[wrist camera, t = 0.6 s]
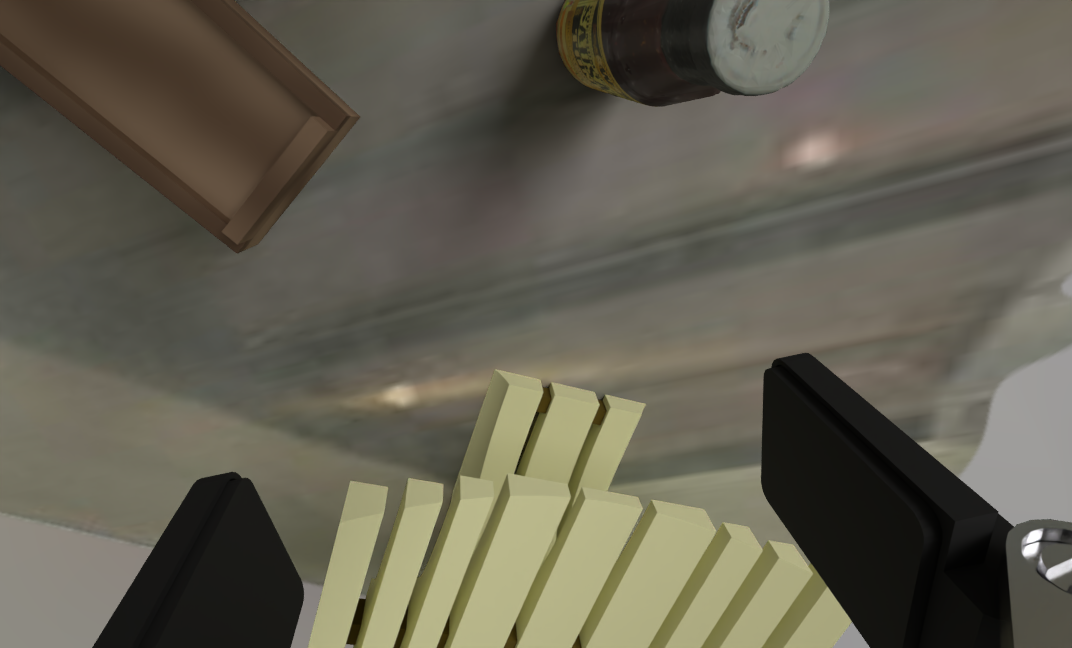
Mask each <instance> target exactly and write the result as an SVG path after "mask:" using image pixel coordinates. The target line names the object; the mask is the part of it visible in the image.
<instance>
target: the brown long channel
mask: <svg viewBox="0 0 1072 648" xmlns="http://www.w3.org/2000/svg"><path fill="white" fill-rule="evenodd" d="M0 66H2V67H3V68H4V69H5V70H7V71H8V72H9V73H11V74H12V75H13V76H14V77H16V78H17V79H18V80H19V81H21V82H22V83H23V84H24V85H26V86H27V87H28V88H29V89H31V90H32V91H33V92H34V93H36V94H37V95H38V96H39V97H41V98H42V99H43V100H44V101H46V102H47V103H48V104H49V105H51V106H52V107H53V108H55V109H56V110H57V111H58V112H60V113H61V114H62V115H63V116H65V117H66V118H67V119H68V120H70V121H71V122H72V123H73V124H75V125H76V126H77V127H78V128H80V129H81V130H82V131H83V132H85V133H86V134H87V135H88V136H90V137H91V138H92V139H93V140H95V141H96V142H97V143H99V144H100V145H101V146H102V147H104V148H105V149H106V150H107V151H109V152H110V153H111V154H112V155H114V156H115V157H116V158H117V159H119V160H120V161H121V162H122V163H124V164H125V165H126V166H127V167H129V168H130V169H131V170H132V171H134V172H135V173H136V174H137V175H139V176H140V177H141V178H143V179H144V180H145V181H146V182H148V183H149V184H150V185H151V186H153V187H154V188H155V189H156V190H158V191H159V192H160V193H161V194H163V195H164V196H165V197H166V198H168V199H169V200H170V201H171V202H173V203H174V204H175V205H176V206H178V207H179V208H180V209H181V210H183V211H184V212H185V213H187V214H188V215H189V216H190V217H192V218H193V219H194V220H195V221H197V222H198V223H199V224H200V225H202V226H203V227H204V228H205V229H207V230H208V231H209V232H210V233H212V234H213V235H214V236H215V237H217V238H218V239H219V240H220V241H222V242H223V243H224V244H226V245H227V246H228V247H229V248H231V249H232V250H233V251H234V252H236V253H239V252H242V251H244V250H246V249H248V248H251V247H253V246H255V245H257V244H258V243H259V242H260V241H261V240H262V239H263V237H264V236H265V235H266V234H267V232H268V231H269V230H270V229H271V227H272V226H273V225H274V224H275V222H276V221H277V220H278V219H279V217H280V216H281V215H282V214H283V212H284V211H285V210H286V209H287V207H288V206H289V205H290V204H291V203H292V201H293V200H294V199H295V198H296V196H297V195H298V194H299V193H300V191H301V190H302V189H303V188H304V186H305V185H306V184H307V183H308V181H309V180H310V179H311V178H312V176H313V175H314V174H315V173H316V171H317V170H318V169H319V168H320V167H321V165H322V164H323V163H324V162H325V160H326V159H327V158H328V157H329V155H330V154H331V153H332V152H333V150H334V149H335V148H336V147H337V145H338V144H339V143H340V142H341V140H342V139H343V138H344V137H345V136H346V134H347V133H348V132H349V131H350V129H351V128H352V127H353V126H354V124H355V123H356V122H357V121H358V119H359V118H360V116H359V115H358V114H357V113H356V112H355V111H353V110H352V109H351V108H350V107H349V106H348V105H347V104H346V103H345V102H344V101H343V100H342V99H340V98H339V97H338V96H337V95H336V94H335V93H334V92H333V91H332V90H331V89H330V88H329V87H327V86H326V85H325V84H324V83H323V82H322V81H321V80H320V79H319V78H318V77H317V76H316V75H314V74H313V73H312V72H311V71H310V70H309V69H308V68H307V67H306V66H305V65H304V64H303V63H301V62H300V61H299V60H298V59H297V58H296V57H295V56H294V55H293V54H292V53H291V52H290V51H288V50H287V49H286V48H285V47H284V46H283V45H282V44H281V43H280V42H279V41H278V40H277V39H275V38H274V37H273V36H272V35H271V34H270V33H269V32H268V31H267V30H266V29H265V28H263V27H262V26H261V25H260V24H259V23H258V22H257V21H256V20H255V19H254V18H253V17H252V16H250V15H249V14H248V13H247V12H246V11H245V10H244V9H243V8H242V7H241V6H240V5H239V4H237V3H236V2H235V1H234V0H0Z"/></svg>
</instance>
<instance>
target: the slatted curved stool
mask: <svg viewBox="0 0 1072 648" xmlns="http://www.w3.org/2000/svg"><path fill="white" fill-rule="evenodd" d="M645 405H646V404H644V403H640V402H635V401H631V400H627V399H622V398H618V397H613V396H609V395H605V396H604V398H603V400H598V399H597V397H596V394H595V392H592V391H587V390H583V389H579V388H574V387H570V386H566V385H561V384H557V383H553V382H551V384H550V387H549V388H544V387H542V384H541V381H540V379H535V378H531V377H527V376H522V375H518V374H513V373H509V372H505V371H500V370H496V369H495V370H494V373H493V376H492V379H491V382H490V385H489V388H488V390H487V393H486V396H485V399H484V402H483V405H482V408H481V411H480V414H479V417H478V419H477V422H476V425H475V428H474V431H473V434H472V437H471V440H470V443H469V446H468V448H467V451H466V454H465V457H464V460H463V463H462V466H461V469H460V472H459V475H458V477H457V480H456V483H455V486H454V489H453V492H452V498H451V503H450V506H449V509H448V511H447V514H446V517H445V520H444V522H443V525H442V528H441V530H440V533H439V536H438V538H437V541H436V544H435V546H434V549H433V551H432V554H431V556H430V558H429V561H428V563H427V565H426V567H425V569H424V571H423V573H422V575H421V576H420V577H417V576H418V573H419V570H420V567H421V565H422V562H423V559H424V556H425V553H426V550H427V547H428V544H429V541H430V538H431V535H432V532H433V529H434V526H435V523H436V520H437V517H438V514H439V512H440V509H441V506H442V503H443V484H441V483H435V482H429V481H423V480H418V479H412V478H408V480H407V484H406V487H405V490H404V493H403V497H402V500H401V503H400V506H399V510H398V513H397V516H396V519H395V522H394V526H393V529H392V532H391V535H390V538H389V541H388V544H387V547H386V551H385V554H384V557H383V560H382V562H381V565H380V568H379V571H378V574H377V576H376V579H373V578H372V579H371V582H370V586H369V589H368V592H367V596H366V599H360V598H359V597H360V594H361V590H362V587H363V583H364V580H365V577H366V573H367V570H368V566H369V563H370V559H371V556H372V553H373V549H374V546H375V542H376V539H377V535H378V532H379V529H380V525H381V522H382V518H383V515H384V511H385V505H386V498H387V492H388V487H385V486H379V485H373V484H367V483H361V482H355V481H350V484H349V488H348V492H347V496H346V500H345V504H344V508H343V512H342V516H341V520H340V524H339V527H338V531H337V535H336V539H335V543H334V547H333V551H332V555H331V559H330V563H329V567H328V570H327V574H326V578H325V582H324V586H323V590H322V594H321V598H320V602H319V605H318V609H317V613H316V618H315V621H314V625H313V629H312V633H311V638H310V641H309V645H308V648H345V645H346V644H351V645H354V647H353V648H832V647H833V646H834V645H835V643H836V642H837V641H838V640H839V638H840V637H841V636H842V634H843V633H844V632H845V630H846V629H847V628H848V626H849V625H850V624H851V623H852V621H851V620H850V618H849V617H848V615H847V614H846V612H845V611H844V610H843V608H842V607H841V605H840V604H839V602H838V601H837V600H836V598H835V597H834V595H833V594H832V592H831V591H830V590H829V588H828V587H827V585H826V584H825V582H824V581H823V580H822V578H821V577H820V575H819V574H818V572H817V571H816V570H815V568H814V567H813V565H812V564H811V563H810V565H809V566H808V565H807V564H806V563H805V561H804V560H803V558H802V557H801V555H800V554H799V552H798V551H797V550H796V548H795V547H794V545H792V544H786V543H780V542H774V541H769V540H768V542H767V543H766V545H765V546H764V548H763V549H762V548H761V546H760V545H759V543H758V541H757V540H756V538H755V537H754V535H753V533H752V532H751V530H750V529H749V527H746V526H741V525H735V524H729V523H724V522H723V523H722V525H721V526H720V528H719V530H718V531H717V533H716V530H715V528H714V526H713V525H712V523H711V521H710V519H709V517H708V515H707V514H706V512H705V510H704V509H700V508H695V507H689V506H684V505H678V504H673V503H668V502H662V501H657V500H651V502H650V504H649V505H648V507H647V509H646V511H645V513H644V515H643V517H642V518H641V520H640V522H639V524H638V526H637V527H636V529H635V531H634V533H633V535H632V536H631V538H630V540H629V541H628V543H627V545H626V547H625V548H624V550H623V551H622V549H623V547H624V545H625V543H626V541H627V539H628V537H629V535H630V533H631V531H632V529H633V527H634V525H635V523H636V521H637V520H638V518H639V516H640V514H641V512H642V510H643V508H642V505H641V503H640V501H639V498H638V497H635V496H630V495H624V494H619V493H613V492H608V488H609V486H610V483H611V481H612V479H613V476H614V474H615V472H616V470H617V467H618V465H619V463H620V460H621V458H622V456H623V454H624V452H625V449H626V447H627V445H628V443H629V441H630V439H631V436H632V434H633V432H634V430H635V428H636V426H637V424H638V422H639V419H640V417H641V415H642V412H643V410H644V407H645ZM536 412H539V415H538V418H537V420H536V423H535V425H534V428H533V430H532V433H531V435H530V438H529V440H528V443H527V446H526V448H525V451H524V453H523V456H522V458H521V461H520V463H519V466H518V469H517V471H516V474H514V472H515V469H516V466H517V463H518V460H519V457H520V454H521V451H522V449H523V446H524V443H525V440H526V437H527V435H528V432H529V429H530V426H531V424H532V421H533V418H534V416H535V413H536ZM591 424H592V425H591ZM590 426H591V428H590ZM589 429H590V430H589ZM588 431H589V432H588ZM587 434H588V435H587ZM586 436H587V437H586ZM585 438H586V439H585ZM583 443H584V444H583ZM715 533H716V535H715ZM714 535H715V536H714ZM713 536H714V538H713ZM712 538H713V539H712ZM711 540H712V541H711ZM710 542H711V543H710ZM709 543H710V544H709ZM708 545H709V546H708ZM706 548H707V549H706ZM621 551H622V553H621ZM620 553H621V555H620ZM703 553H704V554H703ZM619 555H620V556H619ZM618 557H619V558H618ZM617 558H618V559H617ZM616 560H617V561H616Z"/></svg>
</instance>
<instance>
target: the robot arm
mask: <svg viewBox="0 0 1072 648" xmlns="http://www.w3.org/2000/svg"><path fill="white" fill-rule="evenodd" d="M761 484H762V489H763V492H764V495H765V497H766V499H767V501H768V502H769V504H770V505H771V507H772V508H773V510H774V511H775V512H776V514H777V515H778V517H779V518H780V520H781V521H782V522H783V524H784V525H785V527H786V528H787V530H788V531H789V532H790V534H791V535H792V537H793V538H794V540H795V541H796V542H797V544H798V545H799V547H800V548H801V550H802V551H803V552H804V554H805V555H806V557H807V558H808V560H809V561H810V562H811V564H812V565H813V567H814V568H815V570H816V571H817V572H818V574H819V575H820V577H821V578H822V580H823V581H824V582H825V584H826V585H827V587H828V588H829V590H830V591H831V592H832V594H833V595H834V597H835V598H836V600H837V601H838V602H839V604H840V605H841V607H842V608H843V610H844V611H845V612H846V614H847V615H848V617H849V618H850V620H851V621H852V622H853V624H854V625H855V627H856V628H857V629H858V631H859V632H860V634H861V635H862V637H863V638H864V639H865V641H866V642H867V644H868V645H869V647H870V648H1072V523H1071V522H1065V521H1058V520H1052V519H1042V520H1029V521H1026V522H1023V523H1020V524H1017V525H1016V526H1015V527H1014V526H1012V525H1011V524H1010V523H1009V522H1008V521H1007V520H1005V519H1004V518H1003V517H1002V516H1001V515H999V514H998V511H997V510H996V509H994V508H993V507H992V506H991V505H990V504H989V503H987V502H986V501H985V500H984V499H983V498H982V497H980V496H979V495H978V494H977V493H976V492H974V491H973V490H972V489H971V488H970V487H968V486H967V485H966V484H965V483H964V482H962V481H961V480H960V479H959V478H958V477H956V476H955V475H954V474H953V473H952V472H951V471H949V470H948V469H947V468H946V467H945V466H943V465H942V464H941V463H940V462H939V461H937V460H936V459H935V458H934V457H933V456H931V455H930V454H929V453H928V452H927V451H925V450H924V449H923V448H922V447H921V446H920V445H918V444H917V443H916V442H915V441H914V440H912V439H911V438H910V437H909V436H908V435H906V434H905V433H904V432H903V431H902V430H900V429H899V428H898V427H897V426H896V425H894V424H893V423H892V422H891V421H890V420H889V419H887V418H886V417H885V416H884V415H883V414H881V413H880V412H879V411H878V410H877V409H875V408H874V407H873V406H872V405H871V404H869V403H868V402H867V401H866V400H865V399H864V398H862V397H861V396H860V395H859V394H858V393H856V392H855V391H854V390H853V389H852V388H850V387H849V386H848V385H847V384H846V383H844V382H843V381H842V380H841V379H840V378H838V377H837V376H836V375H835V374H834V373H833V372H831V371H830V370H829V369H828V368H827V367H825V366H824V365H823V364H822V363H821V362H819V361H818V360H817V359H816V358H815V357H813V356H812V355H810V354H809V353H802V354H797V355H793V356H788V357H783V358H778V359H776V360H774V361H773V363H772V368H769V369H767V370H765V372H764V385H763V425H762V465H761ZM303 599H304V589H303V584H302V581H301V579H300V577H299V575H298V573H297V571H296V569H295V567H294V565H293V563H292V561H291V559H290V557H289V555H288V553H287V551H286V549H285V547H284V545H283V543H282V541H281V539H280V537H279V535H278V533H277V531H276V529H275V527H274V525H273V523H272V521H271V519H270V517H269V515H268V513H267V511H266V509H265V507H264V505H263V503H262V501H261V499H260V497H259V495H258V493H257V491H256V489H255V487H254V485H253V483H252V482H251V480H250V479H248V478H241V476H240V475H239V474H237V473H236V472H229V473H225V474H220V475H215V476H210V477H205V478H201V479H199V480H197V481H196V482H195V483H194V484H193V486H192V487H191V489H190V491H189V492H188V494H187V495H186V497H185V499H184V500H183V502H182V504H181V505H180V507H179V508H178V510H177V512H176V513H175V515H174V516H173V518H172V520H171V521H170V523H169V525H168V526H167V528H166V529H165V531H164V533H163V534H162V536H161V537H160V539H159V541H158V542H157V544H156V546H155V547H154V549H153V550H152V552H151V554H150V555H149V557H148V558H147V560H146V562H145V563H144V565H143V567H142V568H141V570H140V572H139V573H138V575H137V576H136V578H135V579H134V581H133V583H132V585H131V586H130V588H129V589H128V591H127V592H126V594H125V596H124V597H123V599H122V600H121V602H120V604H119V605H118V607H117V609H116V610H115V612H114V613H113V615H112V617H111V618H110V620H109V621H108V623H107V625H106V626H105V628H104V630H103V631H102V633H101V634H100V636H99V638H98V640H97V641H96V643H95V644H94V646H93V647H92V648H290V647H291V644H292V640H293V636H294V633H295V629H296V626H297V622H298V619H299V615H300V612H301V608H302V605H303Z"/></svg>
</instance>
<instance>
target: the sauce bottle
mask: <svg viewBox="0 0 1072 648" xmlns="http://www.w3.org/2000/svg"><path fill="white" fill-rule="evenodd" d="M828 20H829V0H565V2H564V4H563V6H562V8H561V11H560V14H559V18H558V20H557V22H556V39H557V44H558V48H559V55H560V56H561V58H562V60H563V63H564V65H565V67H566V68H567V69H568V70H569V72H570V73H571V74H572V75H573V77H574V78H575V79H577V80H578V81H579V82H581V83H582V84H583V85H585V86H587V87H590V88H593V89H595V90H599V91H602V92H605V93H609V94H612V95H614V96H619V97H621V98H625V99H628V100H631V101H635V102H638V103H641V104H645V105H649V106H655V107H658V106H667V105H672V104H677V103H681V102H686V101H691V100H695V99H700V98H705V97H710V96H713V95H715V94H719V93H720V91H723V92H725V93H728V94H732V95H744V96H758V95H764V94H769V93H773V92H776V91H778V90H779V89H781V88H783V87H786V86H788V85H789V84H791V83H792V82H793V81H794V80H796V79H797V78H798V77H799V76H800V75H801V74H802V73H803V72H804V71H805V70H806V69H807V68H808V66H809V65H810V64H811V62H812V61H813V59H814V58H815V56H816V54H817V53H818V51H819V49H820V46H821V43H822V40H823V38H824V37H825V35H826V30H827V24H828Z"/></svg>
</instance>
